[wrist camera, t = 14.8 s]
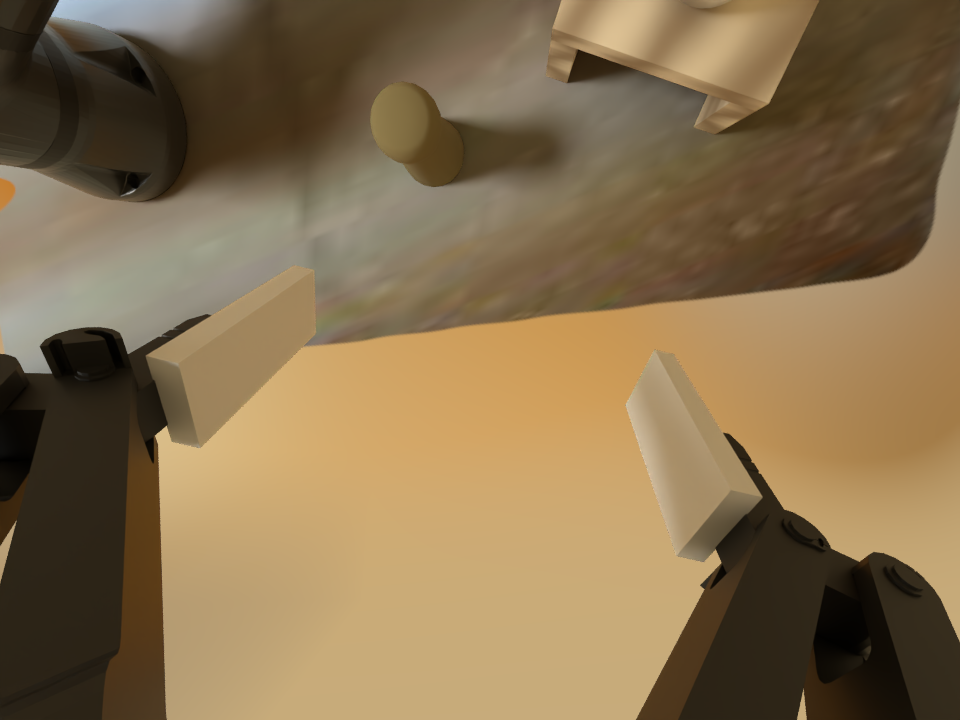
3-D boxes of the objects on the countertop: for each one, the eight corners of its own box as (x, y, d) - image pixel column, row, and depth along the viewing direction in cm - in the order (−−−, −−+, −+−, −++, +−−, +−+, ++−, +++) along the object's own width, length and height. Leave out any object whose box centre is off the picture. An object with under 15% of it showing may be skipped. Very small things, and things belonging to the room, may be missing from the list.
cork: (473, 130, 37) (454, 85, 26) (452, 195, 39) (427, 177, 28) (413, 107, 37) (369, 52, 26) (395, 174, 39) (348, 147, 28)
